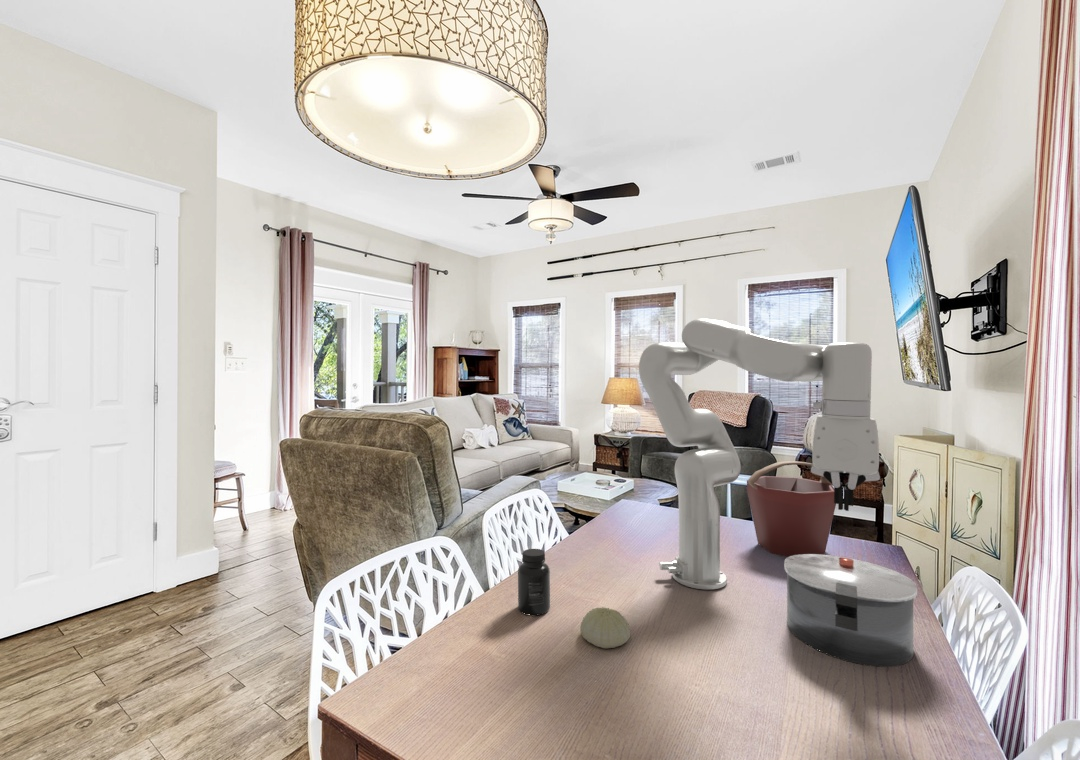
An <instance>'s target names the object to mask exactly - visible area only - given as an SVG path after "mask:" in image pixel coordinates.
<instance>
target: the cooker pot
mask: <svg viewBox="0 0 1080 760" xmlns="http://www.w3.org/2000/svg"><path fill="white" fill-rule="evenodd" d="M786 616H787V617H786V623H787V627H788V629H789V630H790V632H791V633H792V634H793V635H794V636H795V637H796V638H797V637H798V638H797V639H799V640H800V641H801V642H803V643H804V642H805V643H804V644H805V645H807V644H808V645H807V646H809V645H810V646H809V647H811V646H812V647H813V649H814V648H816V649H818V650H820V651H819V652H821V651H822V652H821V653H823V652H824V653H823V654H825V653H827V654H826V655H827V656H830V655H831V657H833V658H836V659H839V660H842V661H845V660H846V661H845V662H849V661H851V662H850V663H853V662H854V663H853V664H858V663H859V664H860V665H863V664H865V665H864V666H869V665H871V666H870V667H880V666H886V667H887V668H888V666H890V667H898V666H902V665H905V664H907V663H909V662H910V661H911V660H912V659H913V657H914V599H911V600H908V601H902V602H878V601H869V600H862V599H857V608H854V607H849V606H845V605H840V604H836V603H835V594H833V593H829V592H826V591H823V590H819V589H817V588H814V587H811V586H808V585H806V584H804V583H802V582H799V581H798V580H796V579H794V578H792V577H791V576H790V575H788V574H787V573H786ZM812 647H811V648H812ZM816 649H815V650H816ZM818 650H817V651H818Z"/></svg>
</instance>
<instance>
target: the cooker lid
mask: <svg viewBox="0 0 1080 760" xmlns="http://www.w3.org/2000/svg"><path fill="white" fill-rule="evenodd" d="M783 566H784V567H783V568H784V571H785V573H786V575H787V574H788V575H790V576H791V577H792V578H794V579H796V580H798V581H799V582H802V583H804V584H806V585H808V586H811V587H814V588H817V589H819V590H823V591H826V592H829V593H833V594H835V603H836V604H840V605H845V606H849V607H854V608H857V599H862V600H869V601H878V602H902V601H908V600H911V599H913V600H915V598H916V597H917V595H918V587H917V584H916V582H915V581H913V579H911V578H910V577H908V576H906V575H904V574H902V573H900V572H899V571H895V570H894V569H890V568H888V567H885V566H882V565H879V564H875V563H872V562H868V561H864V560H859V559H856V558H855V559H854V558H851V557H844V556H840V555H839V556H838V555H831V554H830V555H829V554H825V555H821V554H800V555H793V556H790V557H786V558H785V559H784V564H783Z"/></svg>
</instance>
